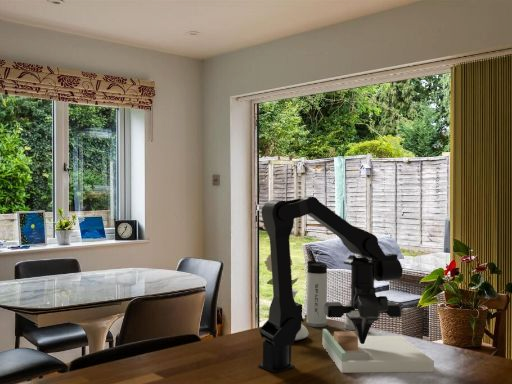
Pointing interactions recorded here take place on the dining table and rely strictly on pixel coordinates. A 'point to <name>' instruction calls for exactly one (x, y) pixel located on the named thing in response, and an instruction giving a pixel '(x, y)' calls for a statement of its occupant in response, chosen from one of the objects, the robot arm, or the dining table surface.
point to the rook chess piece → (349, 321)
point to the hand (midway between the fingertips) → (362, 343)
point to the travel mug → (316, 293)
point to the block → (347, 340)
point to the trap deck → (378, 355)
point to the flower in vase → (303, 331)
